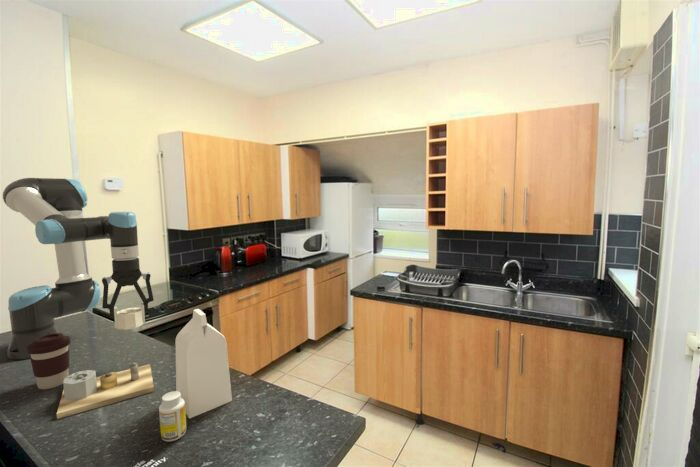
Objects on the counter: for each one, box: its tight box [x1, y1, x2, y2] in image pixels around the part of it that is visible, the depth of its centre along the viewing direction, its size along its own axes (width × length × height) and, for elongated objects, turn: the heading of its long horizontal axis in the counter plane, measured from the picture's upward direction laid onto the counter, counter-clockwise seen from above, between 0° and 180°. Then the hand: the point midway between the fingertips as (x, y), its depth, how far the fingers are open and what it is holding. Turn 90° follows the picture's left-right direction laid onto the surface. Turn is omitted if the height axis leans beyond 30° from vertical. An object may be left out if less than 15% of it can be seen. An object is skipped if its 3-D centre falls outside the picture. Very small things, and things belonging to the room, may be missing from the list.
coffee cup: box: [27, 332, 71, 390], centre depth 103 cm, size 10×10×15 cm
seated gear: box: [62, 369, 97, 401], centre depth 96 cm, size 7×7×5 cm
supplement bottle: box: [158, 390, 187, 442], centre depth 81 cm, size 6×6×10 cm
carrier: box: [56, 362, 155, 420], centre depth 99 cm, size 16×22×7 cm
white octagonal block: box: [117, 306, 144, 331], centre depth 114 cm, size 7×7×5 cm
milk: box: [175, 308, 233, 419], centre depth 94 cm, size 12×12×26 cm
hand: (130, 324), depth 114 cm, fingers closed on white octagonal block, 7 cm apart
